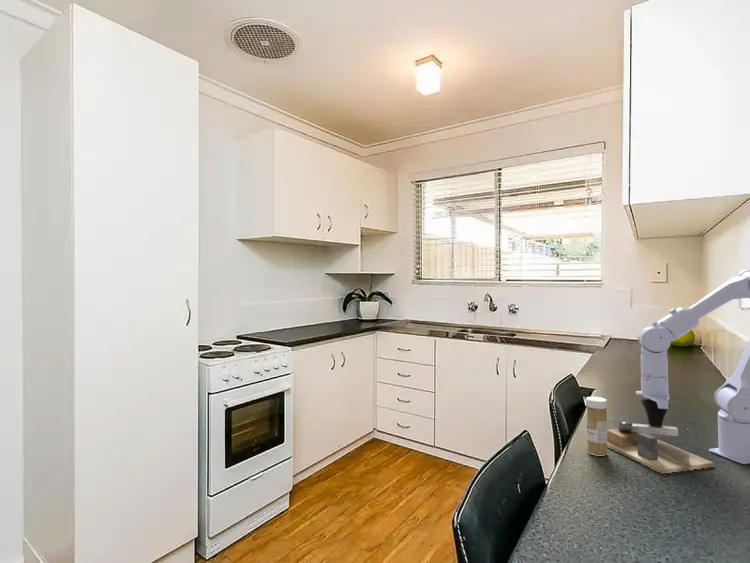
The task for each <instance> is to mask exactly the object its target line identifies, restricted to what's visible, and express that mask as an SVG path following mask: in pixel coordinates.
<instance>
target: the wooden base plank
mask: <svg viewBox="0 0 750 563" xmlns="http://www.w3.org/2000/svg"><path fill="white" fill-rule="evenodd" d="M607 446H609V447H611V448H613V449H614V450H617V451H619V452H621V453H622V454H624V455H626V456H628V457H630V458H632V459H634V460H636V461H638V462H640V463H642V464H644V465H646V466H648V467H650V468H652V469H653V470H655V471H657V472H660V473H662V474H663V473H670V474H672V473H671V472H677V473H679V472H678V471H684V472H687V471H686V470H690V471H695V470H694V469H697V470H702V468H704V469H710V467H711V468H714V467H715V465H714V461H711V460H708V459H706V458H704V457H701V456H699V455H697V454H694V453H691V452H689V451H686V450H684V449H682V448H679V447H676V446H674V445H672V444H669V443H667V442H664V441H662V440H661V439H658V437H657V436H654V435H653V434H647V433H635V432H630V433H627V432H622V431H619V427H618V428H611V429H608V428H607ZM653 470H652V471H653ZM655 471H654V472H655ZM657 472H656V473H657Z"/></svg>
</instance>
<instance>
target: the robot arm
mask: <svg viewBox="0 0 750 563" xmlns="http://www.w3.org/2000/svg"><path fill="white" fill-rule="evenodd" d="M738 299H739V300H740V299H750V269H748V270H744V271H742V272H741V273H739V275H738V276H734V277H731V278H729V279H728V280H727V281H724V282H723V283H722V284H721V285H719V286H718V287H717V288H715V289H713V291H711V292H710V293H708V294H706V295H705V296H704V297H702V298H701V299H699V300H698V301H697V302H695V303H693V304H692V305H691V306H689V307H678V308H671V309H670V310H668V312H669V314H666V315H665V316H663V317H662V318H661V319H659V320H657V321H655V320H654V321H653V322H651V325H652V326H648V327H644V328H642V329H641V330H640V332H639V334H638V336H637V341H638V343H639V344H640V345H641V346H640V390H636V391H635V394H636V395H637V396H640V397H643V398H642V399H640V402H641V403H642V406H643V408H644V410H645V414H646V418H647V421H648V425H659V426H663V423H664V419H665V416H666V413H667V412H668V410H669V409H670V406H671V404H669V400H670V393H669V362H668V361H669V359H668V349H669V348H670V346H671V343H672V342H675V341H676V340H678V339H680V338H681V337H682V336H685V335H687V334H688V333H689V332H691V331H693V330H694V329H696V328H697V327H699V322H700V319H701V318H702V317H705V316H706V315H708V314H710V313H711V312H713V311H715V310H717V309H718V308H720V307H722V306H724V305H725V304H727V303H728V302H731V301H733V300H738ZM713 397H714V401H715V403H716V405H717V406H718V407H719V410H718V412H717V430H718V431H717V436H718V438H717V439H718V444H717V445H718V447H715V448H709V449H708V451H709V452H711V453H714V454H716V455H718V456H721V457H723V458H726V459H729V460H731V461H734V462H736V463H739V464H742V465H748V464H750V338H749V339H748V341H747V343H746V346H745V348H744V350H743V353H742V355H741V357H740V359H739V361H738V364H737V366H736V369H735V370H734V372H733V373H732V374H731V375H730V376H729V377H728V378H726V380H725V382H724V384H723V385H721V386H720V387H719V388H718V389H716V390H715V393H714V396H713ZM644 398H645V399H644ZM646 398H647V399H646Z"/></svg>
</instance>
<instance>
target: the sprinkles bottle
mask: <svg viewBox="0 0 750 563" xmlns="http://www.w3.org/2000/svg"><path fill="white" fill-rule="evenodd" d="M585 406H586V415H587V416H586V417H587V419H586V438H587V449H586V450H587V451H588V452H590V453H593V454H596V455H606V454H607V453H608V448H607V430H608V418H607V416H608V415H607V408H608V400H607V399H606V398H604V397H600V396H587V397H586V398H585ZM587 451H586V452H587ZM588 452H587V453H588ZM608 454H609V453H608Z"/></svg>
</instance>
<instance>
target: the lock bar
mask: <svg viewBox="0 0 750 563" xmlns="http://www.w3.org/2000/svg"><path fill="white" fill-rule="evenodd" d="M618 428H619V431H622V432H627V433H630V432H635V433H647V434H649V435H661V436H672V437H674V436H675V437H679V429H678V427H676V426H667V425H662V426H659V425H649V424H645V423H644V424H643V423H633V422H632V421H628V420H618Z"/></svg>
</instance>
